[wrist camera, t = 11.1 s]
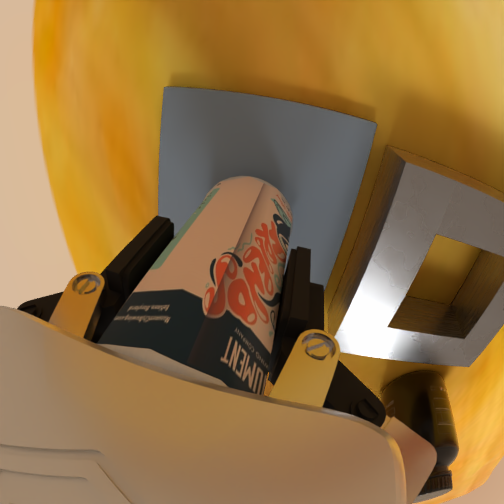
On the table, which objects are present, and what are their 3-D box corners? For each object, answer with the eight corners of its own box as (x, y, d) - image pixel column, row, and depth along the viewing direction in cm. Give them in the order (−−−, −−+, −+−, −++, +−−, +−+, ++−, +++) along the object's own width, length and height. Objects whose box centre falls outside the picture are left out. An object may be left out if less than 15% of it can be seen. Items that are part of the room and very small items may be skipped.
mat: (318, 299, 20) (318, 306, 19) (164, 263, 21) (159, 269, 20) (373, 121, 13) (377, 124, 13) (170, 86, 14) (164, 87, 13)
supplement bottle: (403, 410, 27) (408, 507, 17) (366, 393, 25) (367, 507, 15) (454, 380, 23) (473, 484, 13) (423, 358, 22) (444, 485, 12)
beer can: (286, 261, 17) (246, 485, 7) (204, 247, 17) (100, 440, 7) (299, 179, 14) (265, 429, 4) (204, 167, 15) (33, 350, 5)
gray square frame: (457, 334, 20) (468, 366, 17) (327, 312, 21) (327, 349, 18) (529, 207, 13) (557, 232, 10) (386, 144, 14) (406, 162, 11)
